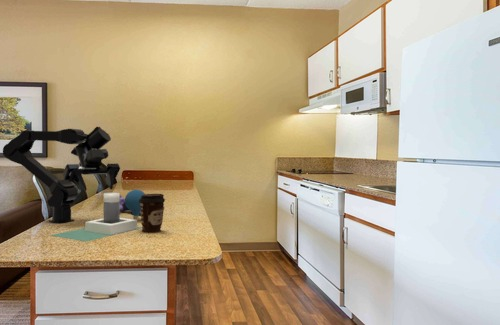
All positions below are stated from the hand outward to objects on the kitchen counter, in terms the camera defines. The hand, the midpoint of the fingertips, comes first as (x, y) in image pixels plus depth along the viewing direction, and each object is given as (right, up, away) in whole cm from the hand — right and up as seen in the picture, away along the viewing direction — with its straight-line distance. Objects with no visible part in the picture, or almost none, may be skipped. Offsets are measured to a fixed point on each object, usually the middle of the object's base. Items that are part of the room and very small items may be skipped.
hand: (99, 189), depth 140 cm
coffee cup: (+20, -14, -7) cm, 26 cm away
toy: (+2, -13, +32) cm, 35 cm away
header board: (+3, -14, -9) cm, 17 cm away
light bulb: (+8, -13, +16) cm, 22 cm away
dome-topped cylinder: (+7, -13, -7) cm, 16 cm away
